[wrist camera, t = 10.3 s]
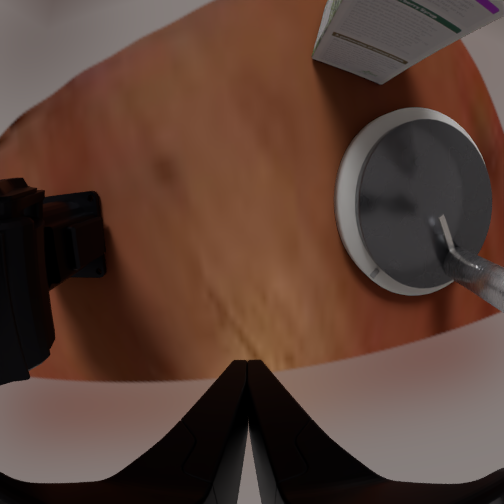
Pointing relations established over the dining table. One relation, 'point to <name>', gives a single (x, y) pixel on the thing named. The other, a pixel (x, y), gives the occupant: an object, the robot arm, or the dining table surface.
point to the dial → (428, 209)
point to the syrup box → (395, 32)
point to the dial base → (347, 190)
